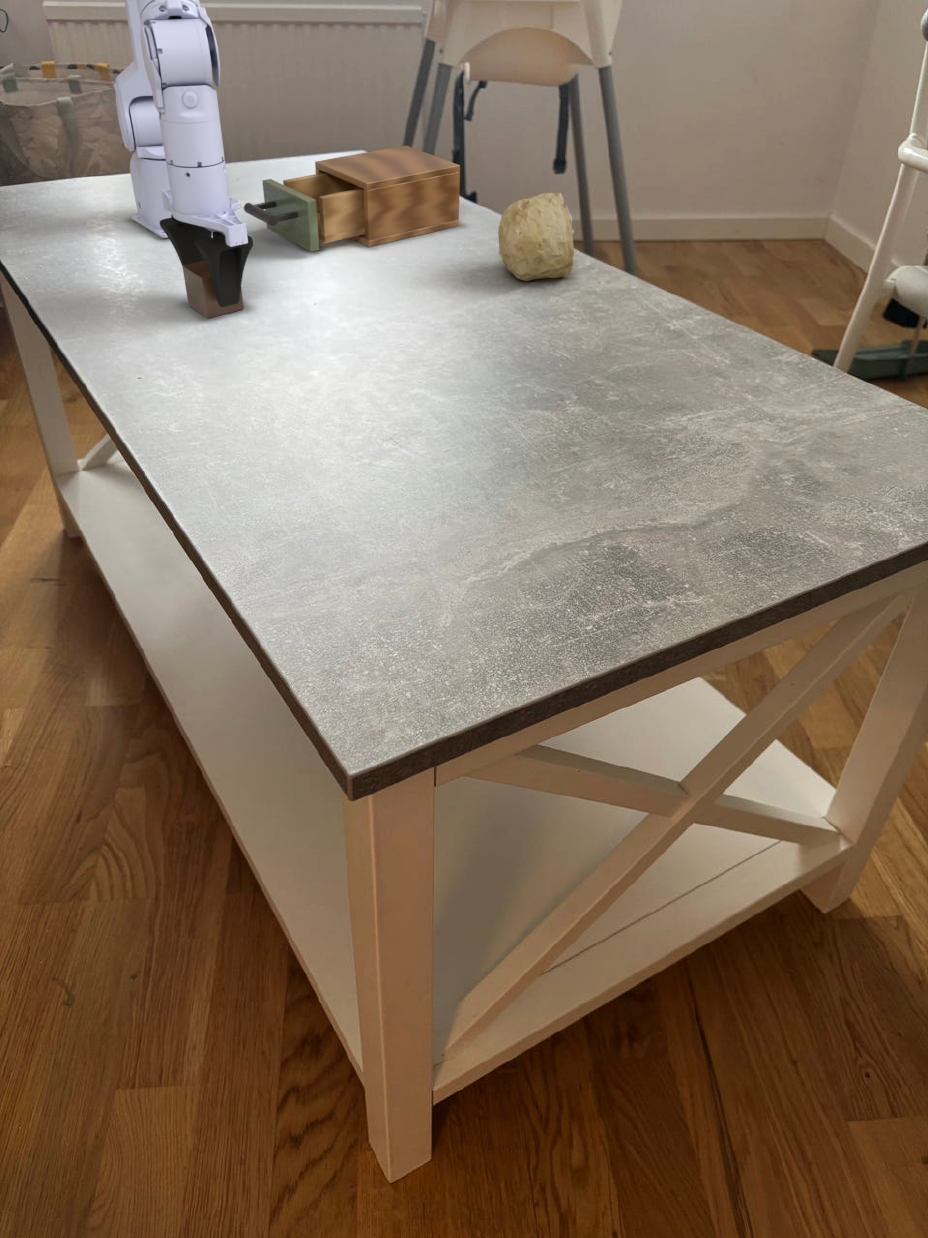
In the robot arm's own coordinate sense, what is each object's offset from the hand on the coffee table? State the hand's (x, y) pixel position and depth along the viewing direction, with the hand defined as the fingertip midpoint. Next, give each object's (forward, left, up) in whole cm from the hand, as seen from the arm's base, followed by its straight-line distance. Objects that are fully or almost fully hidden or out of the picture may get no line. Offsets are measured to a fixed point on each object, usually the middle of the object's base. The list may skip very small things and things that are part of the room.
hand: (214, 294), depth 104 cm
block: (0, 0, -1) cm, 1 cm away
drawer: (-12, +21, -1) cm, 24 cm away
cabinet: (-12, +32, -1) cm, 34 cm away
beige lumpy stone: (+13, +35, -2) cm, 37 cm away
